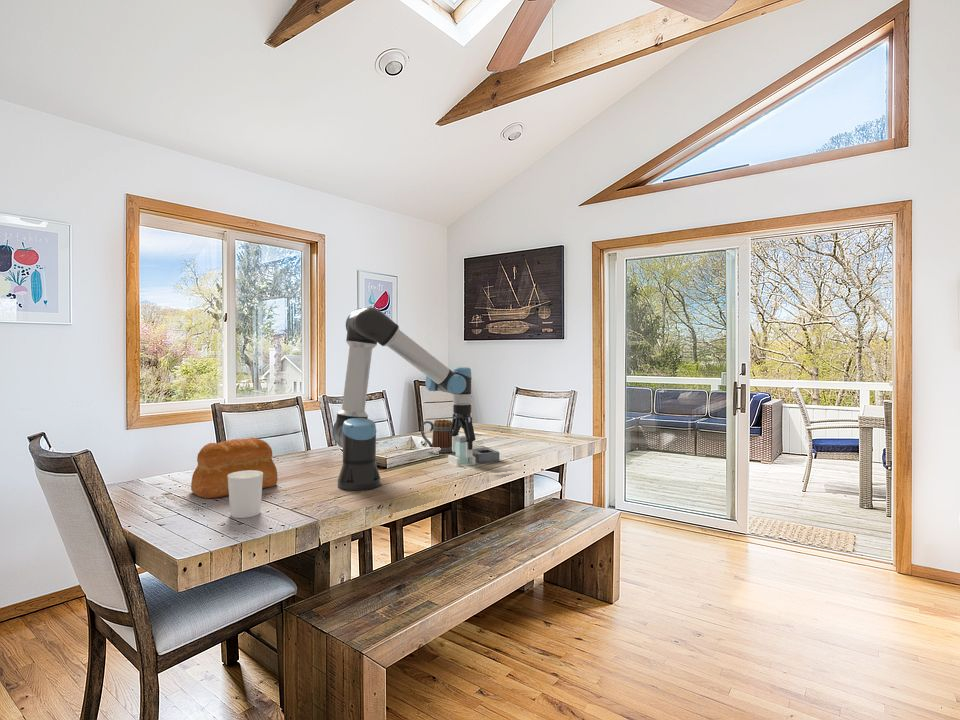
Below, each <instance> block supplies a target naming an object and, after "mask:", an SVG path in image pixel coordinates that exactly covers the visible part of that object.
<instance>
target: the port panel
mask: <svg viewBox="0 0 960 720" xmlns="http://www.w3.org/2000/svg"><path fill="white" fill-rule="evenodd" d="M472 456H474V457H475V464H478V465H480V464H488V463H489V464H490V463H499V462H500V452H499V450H496V449H495V450H494V449H493V448H489V447H487V446H484V445H475V446H474V445H473V453H472Z"/></svg>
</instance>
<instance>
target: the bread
mask: <svg viewBox="0 0 960 720" xmlns="http://www.w3.org/2000/svg"><path fill="white" fill-rule="evenodd" d="M272 449H273V448H272V447H271V446H270V445H269V443H268V441H265V440H263V439H260V438H257V437H249V438H246V439H245V438H241V439H240V438H237V439H236V438H235V439H230V440H223V441H220V442H210V443H207V444H205V445H204V446H203V447H202V448H200V450H199V452H198V453H197V457H196V461H197V466H196V468H195V470H194V471H193V474H192V476H191V483H190V489H191V492H192V493H193V495H196V496H198V497H200V498H206V499H217V498H223V497H227V496H229V490H228V478H227V476H228V474H230V473H233V472H238V471H246V470H256V471H261V472H263V481H262V489H264V488H271V487H274V486H276V485H277V484H278V471H277V470H278V469H277V466H276V464H275V462H274V461H273V450H272Z"/></svg>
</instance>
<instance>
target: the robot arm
mask: <svg viewBox="0 0 960 720" xmlns="http://www.w3.org/2000/svg"><path fill="white" fill-rule="evenodd" d="M345 330H346V339H345V341H346V343H347V345H348V346H349V349H348V357H347V365H346V373H345V381H344V388H343V389H344V391H343V395H342V405H341V409H340V410H338V411H337V412H336V419H335V422H334V424H333V426H332V432H331V433H332V438H333V441H334V442H335V443H336V444H337V446H339V447H340V448H342V464H341V469H340V472H339V475H338V478H337V487H338V488H339V489H340V490H341V489H342V490H347V491H365V490H370V489H375V488H378V487H379V486H381V481H382V480H381V475H380V473H379V469H378V467H377V466H378V465H377V463H376V459H377V449H376V447H377V426H376V425H377V424H376V422H375V421H374V420H372V419H370V418H369V415H368V413H367V412H366V411H365V410H366V402H367V396H368V395H367V393H368V387H369V379H370V378H369V377H370V370H371V363H372V354H373V349H374V348H376V347H377V345H378V344H379V345H381V346H382V347H388V348H389V349H390V350H391V351H393V352H394V353H395V354H397V355H398V356H399V357H401V358H402V359H404V360H405V361H406V362H407V363H409V364H410V365H411V366H413V367H415V368H416V369H417V370H418V371H420V372H421V373H423V375H425V376H426V377H425V383H424V384H425V388H426V389H427V391H429V392H443V393H447V394H452V396H453V397H452V399H453V400H452V401H453V406H452V407H453V408H452V411H453V413H452V419H451V422H452V424H451V428H450V434H451V435H452V451H453V452H455V449H456V441H457V437H460V435H459V432H460V430H461V429H462V431H463V432H464V435H465V436H464V437H466V439H467V440H466V458H468V457H472V453H473V446H474V445H473V442H475V441H476V439H477V438H476V435H475V430H474V424H473V417H472V416H470V417H469V414H471V413H472V404H471V403H472V380H473V379H472V378H473V377H472V369H471V367H468V366H466V367H465V366H459V367H457V366H454V368H453V370H452V369H450V368H449V367H448V366H446V365H445V364H444V363H443V362H441V361H440V360H439V359H437V357H435V356H433V355H432V354H431V353H430V352H429V351H427V350H426V349H425V348H423V347H422V346H421V345H419V344H418V343H417V342H416V341H415V340H413V339H412V338H410V337H409V336H408V335H407V334H406V333H404V332H403V331H402V330H400V326H399V325H398V324H397V323H396V322H395V321H394V320H393V319H391V318H390V317H388V316H387V314H385V313H384V312H382V310H379V309H377V308H375V307H371V306H370V307H369V306H368V307H363V308H362V307H360V308H356V309H354V310H352V311H351V313H349V314H348V316H347V317H346V321H345Z"/></svg>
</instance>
